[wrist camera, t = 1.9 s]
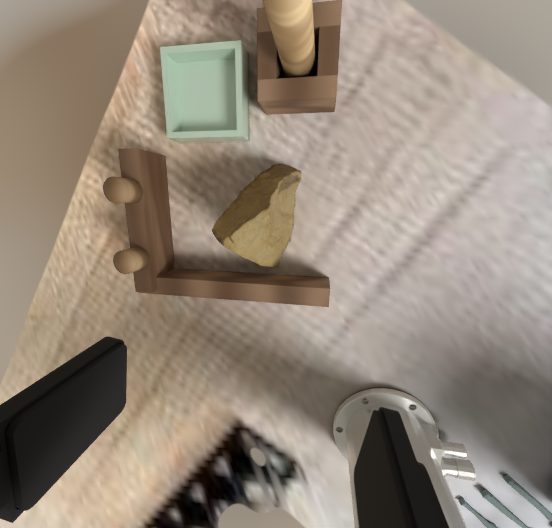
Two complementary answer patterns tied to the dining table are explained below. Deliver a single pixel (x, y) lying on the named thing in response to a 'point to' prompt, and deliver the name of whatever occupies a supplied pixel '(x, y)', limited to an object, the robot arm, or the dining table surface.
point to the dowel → (293, 35)
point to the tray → (206, 92)
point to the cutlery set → (503, 509)
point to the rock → (261, 217)
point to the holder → (302, 90)
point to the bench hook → (159, 248)
